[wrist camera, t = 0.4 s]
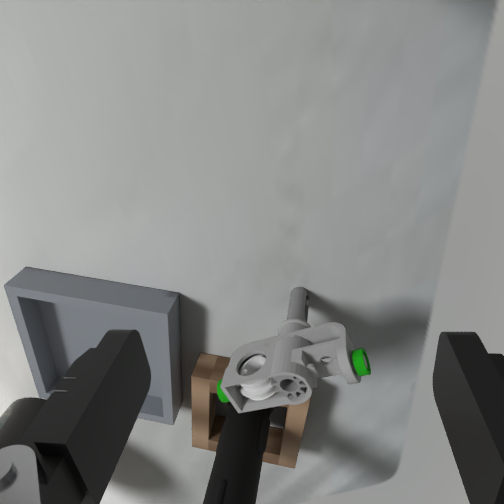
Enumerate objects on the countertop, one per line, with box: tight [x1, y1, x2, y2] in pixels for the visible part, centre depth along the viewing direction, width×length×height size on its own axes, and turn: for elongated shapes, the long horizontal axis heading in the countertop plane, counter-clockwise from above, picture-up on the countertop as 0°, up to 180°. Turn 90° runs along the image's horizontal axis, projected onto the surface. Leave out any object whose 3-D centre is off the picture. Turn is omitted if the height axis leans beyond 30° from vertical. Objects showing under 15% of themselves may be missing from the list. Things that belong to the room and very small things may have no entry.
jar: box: [0, 398, 46, 449], centre depth 45 cm, size 12×12×15 cm
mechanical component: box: [217, 287, 371, 413], centre depth 30 cm, size 3×10×10 cm, turn 117°
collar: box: [191, 353, 311, 468], centre depth 41 cm, size 11×11×3 cm
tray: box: [4, 267, 183, 425], centre depth 40 cm, size 15×15×3 cm
